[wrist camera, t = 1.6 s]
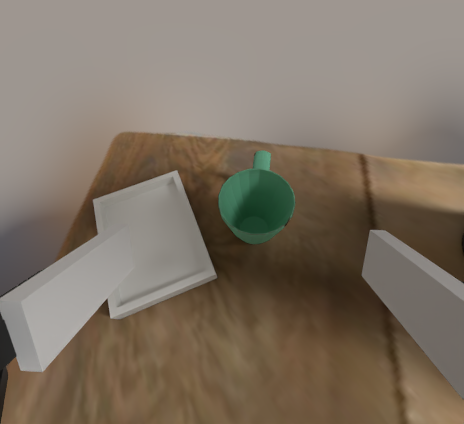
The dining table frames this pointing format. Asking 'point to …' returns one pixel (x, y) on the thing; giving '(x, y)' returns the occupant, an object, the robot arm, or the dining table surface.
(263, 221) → the mug
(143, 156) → the dining table surface
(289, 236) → the dining table surface
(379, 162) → the dining table surface
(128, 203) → the cradle tray
